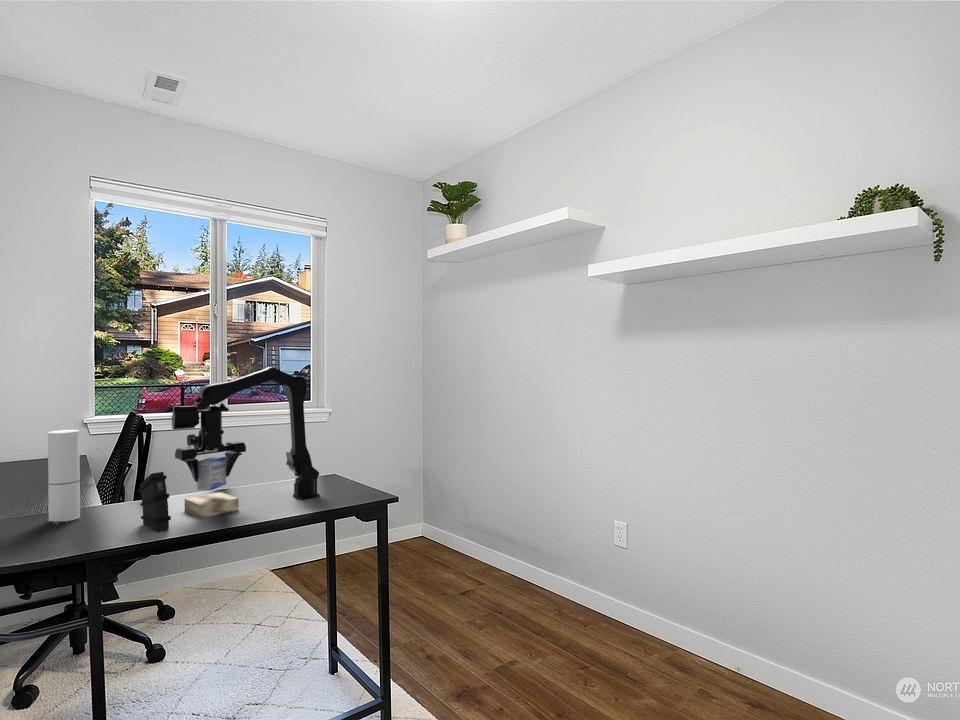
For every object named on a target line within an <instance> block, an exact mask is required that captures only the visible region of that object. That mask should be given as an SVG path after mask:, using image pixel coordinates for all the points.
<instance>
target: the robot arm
mask: <svg viewBox="0 0 960 720" xmlns="http://www.w3.org/2000/svg"><path fill="white" fill-rule="evenodd" d="M270 381H271V382H274V383H276V384H278V385H279V386H281V387H283V390H284V394H285V397H286V399H287V402H288V405H289V418H290V419H289V421H290V435H291V436H290V438H291V439H290V440H291V449H290V451H288V452H285V456H286V463H285V464H286V465H287V466H288V468H289V470H290V471H291V472H293V474H294V476H295V477H296V478H294V483H293V494H292V497H294V498H297V499H300V500H306V499H310V498H317V497H319V496H321V495H320V493H318V479H319V476H320V471H318V470H317V469H316V468H315V467H314V466H313V463H312V459H311V455H310V452H309V449H308V448H307V439H306V438H307V437H306V436H307V435H306V425H305V424H306V423H305V422H306V421H305V420H306V419H305V407H304V404H305V401H306V400H305V399H306V398H307V390H308V389H307V388H308V382H307V380H306V379H305V378H304V377H303V376H300V375H291V374H288V373H287V372H284V371H282V370H280V369H278V368H276V367H273V366H272V367H271V366H268V367H266V368H264V369H262V370H259V371H255V372H252V373H250V374H246V375H244V376H241V377H238V378H234V379H232V380H229V381H224V382H223V381H222V382H217V383H210V384H206V385H203V386H202V387H201V388H200V390H199V392H198V397H197V398H196V400H194V402H193V403H192V404H191V405H183V406H182V405H173V406H172V415H171V428H172V430H173V431H175V430H177V431H178V430H187V429H195V428H196V426H198V425H199V424H200V430H199V429H198V435H196V434H193V433H192V434H188V435H186V444H187V447H186V446H185V447H178V448H176V450H175V453H174V458H175V459H177V460H179V461H181V462H185V463H186V465H187V466H188V469H189V471H190V473H191V476H192V479H193V480H194V482H195V483H197V481H198V461H199V459H198V458H196V457H197V456H201V455H207V454H216V453H224V455H225V456H224V457H226V478H227V477H230V474H231V471H232V470H233V467H234V466H235V464H236V462H237V460H238V458H239V457H240V456H242V455H243V453H246V452H247V445H246V443H245V442H243V441H238V440H236V441H235V440H233V441H227V442H226V443H225V444H224V443H223V434H225V433H224V429H223V426H222V425H223V424H222V423H223V420H222V419H223V418H222V417H223V414H222V412H229V411H230V409H229V408H228V407H227V406H226V405H225V404H224V403H222V402H223V401H225V400H226V399H228V398H230V397H231V396H232V395H234V394H236V393H239V392H242V391H244V390H248V389H250V388H253V387H255V386H259V385H261V384H264V383H267V382H270ZM218 404H219V405H218ZM206 408H207V409H206Z"/></svg>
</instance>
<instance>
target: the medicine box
mask: <svg viewBox="0 0 960 720" xmlns="http://www.w3.org/2000/svg"><path fill="white" fill-rule="evenodd" d="M196 485H197V487H196V489H197V490H198V491H213V490H215V489H218V488H221V487H223V486H226V485H227V476H226V456H216V455H215V456H212V457H211V456H210V457H208V458H205V459H201V460H198V481H197V482H196Z"/></svg>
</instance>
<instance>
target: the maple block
mask: <svg viewBox="0 0 960 720" xmlns="http://www.w3.org/2000/svg"><path fill="white" fill-rule="evenodd" d="M235 510H236V511H239V497H236V496H233V495H231V494H228V493H225V492H222V491H220V492H219V491H218V492H213V493H208V494H204V495H197V496H193V497H189V498H184V512H185V511H186V513H187V514H190V513H191V514H190V515H193V516H195V517H197V516H198V518H200V517H201V518H200V519H203V517H204V518H208V517H207V516H209V517H212V515H213V516H216V515H217V514H218V515H222V514H226V512H227V513H231V512H230V511H232V512H235ZM221 513H222V514H221Z"/></svg>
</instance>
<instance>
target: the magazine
mask: <svg viewBox="0 0 960 720" xmlns="http://www.w3.org/2000/svg"><path fill="white" fill-rule="evenodd" d="M166 479H167V475H165V474H164V471H160V472H154V473H153V472H152V473H150V474H149V475H148V476H147V477H146V478H145V479H144V480H143V481H142V482H141V483H139V489H138V490H137V491H138V493H140V495H141V496H140V497H141V503H140V504H139V505H140V507H142V515H140V519H142V524H143V525H144V526H146V527H148V528H150V529H151V530H153V531H155V532H157V533H160V532H164V531H168V530H169V529H170V527H169V526H170V524H169V523H170V522H169V521H171V520H172V519H171V518H172V516H171V515H169V500H168V499H169V498H170V493H168V492H167V484H166Z"/></svg>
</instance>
